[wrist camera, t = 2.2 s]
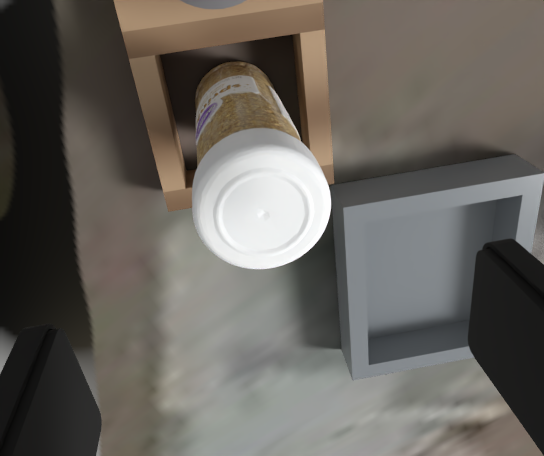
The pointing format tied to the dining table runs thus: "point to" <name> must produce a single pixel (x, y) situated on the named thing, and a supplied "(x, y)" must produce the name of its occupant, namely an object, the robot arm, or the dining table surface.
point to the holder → (213, 32)
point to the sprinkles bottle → (253, 173)
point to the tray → (422, 257)
